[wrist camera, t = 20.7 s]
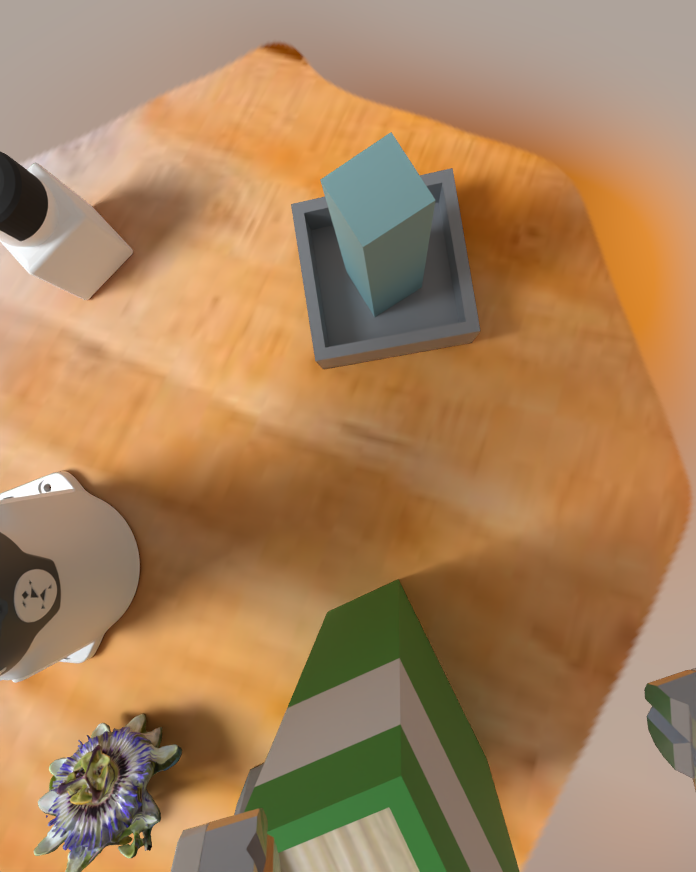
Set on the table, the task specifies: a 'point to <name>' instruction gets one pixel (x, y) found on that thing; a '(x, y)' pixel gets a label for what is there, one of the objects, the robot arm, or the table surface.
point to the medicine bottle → (56, 231)
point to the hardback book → (379, 756)
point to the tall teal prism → (381, 222)
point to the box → (406, 320)
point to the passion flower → (105, 793)
